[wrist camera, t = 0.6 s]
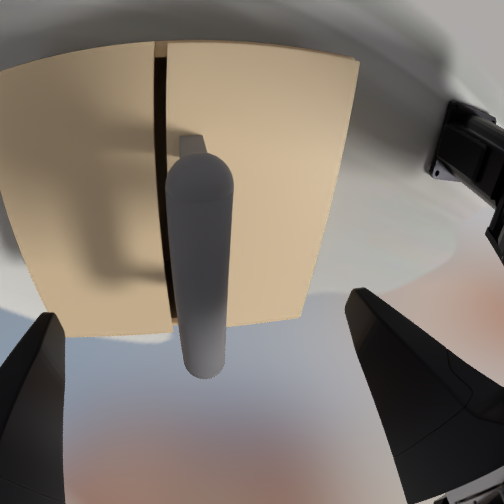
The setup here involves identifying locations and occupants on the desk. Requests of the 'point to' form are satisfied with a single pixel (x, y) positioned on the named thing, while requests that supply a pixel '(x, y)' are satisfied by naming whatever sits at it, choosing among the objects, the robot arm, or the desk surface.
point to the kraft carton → (93, 184)
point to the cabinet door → (248, 183)
